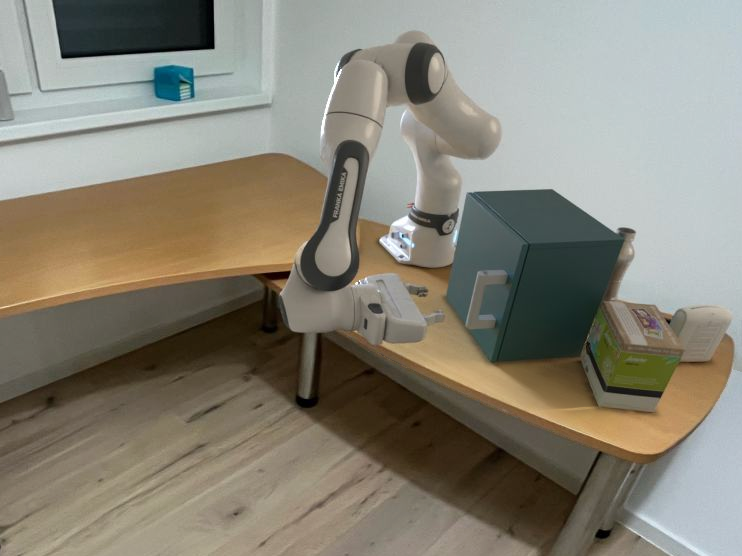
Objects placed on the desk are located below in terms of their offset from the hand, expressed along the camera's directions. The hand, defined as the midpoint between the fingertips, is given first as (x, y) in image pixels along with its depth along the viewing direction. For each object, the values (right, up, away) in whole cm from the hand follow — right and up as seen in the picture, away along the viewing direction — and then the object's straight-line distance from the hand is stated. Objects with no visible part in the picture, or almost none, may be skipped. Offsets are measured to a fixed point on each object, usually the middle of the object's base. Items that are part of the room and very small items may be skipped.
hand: (434, 303), depth 109 cm
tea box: (+35, -16, +1) cm, 38 cm away
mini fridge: (+22, -4, +18) cm, 29 cm away
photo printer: (+54, -11, +8) cm, 56 cm away
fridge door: (+9, -4, +17) cm, 20 cm away
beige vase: (+44, 0, +24) cm, 50 cm away
